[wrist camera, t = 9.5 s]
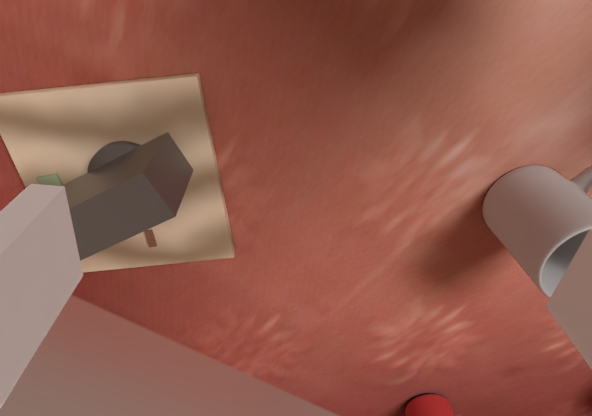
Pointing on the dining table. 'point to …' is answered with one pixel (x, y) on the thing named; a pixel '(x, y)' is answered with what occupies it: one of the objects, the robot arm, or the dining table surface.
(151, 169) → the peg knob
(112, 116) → the board
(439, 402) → the beer can
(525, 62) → the dining table surface
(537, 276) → the mug
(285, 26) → the dining table surface
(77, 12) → the dining table surface
